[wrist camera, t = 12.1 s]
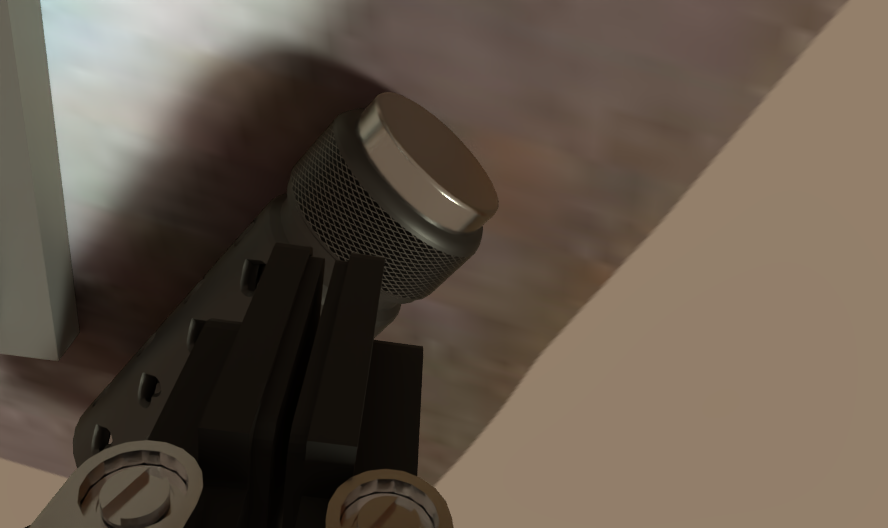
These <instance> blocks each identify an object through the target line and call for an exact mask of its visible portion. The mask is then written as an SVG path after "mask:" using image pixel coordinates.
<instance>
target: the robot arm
mask: <svg viewBox="0 0 888 528" xmlns="http://www.w3.org/2000/svg"><path fill="white" fill-rule="evenodd" d="M384 264H385V257H378V256H371V255H364V254H357V253H351V254H350V258H349V262H348V261H341V260H335V264H334V267H333V271H332V275H331V279H330V282H329V286H328V290H327V294H326V298H325V301H324V305H323V309H322V313H321V302H322V291H323V280H324V269H325V258H320V257H313V248H312V247H309V246H302V245H295V244H288V243H281V242H276V243H275V245H274V247H273V250H272V252H271V255H270V257H269V259H268V262H267V264H266V266H265V269H264V271H263V274H262V276H261V278H260V281H259V283H258V286H257V288H256V290H255V293H254V295H253V297H252V300H251V302H250V305H249V307H248V309H247V312H246V314H245V316H244V319H243V321H242V322H237V321H230V320H222V319H215V318H210V319H208V320H207V322H206V323H205V325H204V326H203V328H202V330H201V332H200V334H199V337H198V339H197V341H196V343H195V345H194V347H193V349H192V351H191V353H190V355H189V357H188V359H187V361H186V363H185V365H184V367H183V369H182V371H181V373H180V375H179V377H178V379H177V381H176V383H175V385H174V387H173V389H172V391H171V393H170V395H169V397H168V399H167V401H166V403H165V405H164V407H163V409H162V411H161V413H160V415H159V417H158V419H157V422H156V424H155V426H154V428H153V430H152V432H151V434H150V436H149V438H148V440H144V441H134V442H126V443H122V444H119V445H116V446H113V447H110V448H107V449H105V450H103V451H101V452H99V453H97V454H96V455H94V456H92V457H90V458H89V459H87V460H86V461H85V462H84V463H83V464H82V465H81V466H80V467H79V468H78V469H76V470H75V471H74V472H73V473H72V475H71V476H70V477H69V478H68V480H67V481H66V482H65V483H64V485H63V486H62V487H61V488H60V489H59V491H58V492H57V493H56V494H55V496H54V497H53V498H52V499H51V501H50V502H49V503H48V505H47V506H46V507H45V508H44V509H43V511H42V512H41V513H40V514H39V516H38V517H37V518H36V519H35V521H34V522H33V523H32V524H31V525H29V526H27V527H25V528H453V522H452V517H451V514H450V511H449V509H448V506H447V503H446V501H445V500H444V498H443V497H442V496H441V495H440V494H439V492H438V491H437V490H436V488H434V487H433V486H432V485H430V484H429V483H427V482H426V481H425V480H423V479H422V478H420V477H417V468H418V448H419V428H420V407H421V387H422V367H423V346H415V345H408V344H401V343H393V342H386V341H378V340H374V335H375V328H376V321H377V314H378V307H379V300H380V293H381V286H382V279H383V272H384ZM320 313H321V317H320Z"/></svg>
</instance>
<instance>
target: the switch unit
mask: <svg viewBox="0 0 888 528" xmlns="http://www.w3.org/2000/svg"><path fill="white" fill-rule="evenodd" d="M79 333H80V332H79V323H78V315H77V306H76V298H75V290H74V281H73V273H72V265H71V256H70V248H69V240H68V231H67V223H66V214H65V206H64V198H63V189H62V181H61V173H60V164H59V156H58V147H57V139H56V131H55V122H54V114H53V106H52V97H51V89H50V81H49V72H48V64H47V55H46V47H45V39H44V30H43V22H42V14H41V5H40V0H0V354H6V355H14V356H22V357H30V358H38V359H45V360H53V361H59V360H60V358H61V357H62V356H63V354H64V353H65V352H66V350H67V349H68V348H69V346H70V345H71V343H72V342H73V341H74V339H75V338H76V337H77V335H78V334H79Z"/></svg>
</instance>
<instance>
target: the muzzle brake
mask: <svg viewBox="0 0 888 528" xmlns="http://www.w3.org/2000/svg"><path fill="white" fill-rule="evenodd" d="M498 202H499V201H498V197H497V193H496V191H495V189H494V186H493V184H492V182H491V180H490V179H489V177H488V175H487V173H486V172H485V170H484V169H483V168H482V166H481V165H480V163H479V162H478V160H477V159H476V158H475V157H474V155H473V154H472V153H471V152H470V150H469V149H468V148H467V147H466V146H465V145H464V144H463V142H462V141H461V140H460V139H459V138H458V137H457V136H456V135H455V134H454V133H453V132H452V131H451V130H450V129H449V128H448V127H447V126H446V125H445V124H443V123H442V122H441V121H440V120H439V119H438V118H436V117H435V116H434V115H433V114H431V113H430V112H429V111H427V110H426V109H425V108H423V107H422V106H420V105H418V104H417V103H415V102H414V101H412V100H410V99H408V98H406V97H404V96H402V95H399V94H396V93H393V92H384V93H381V94H379V95H377V97H376V98H375V99H374V100H373V101H372V102H371V103H370V104H369V106H368V107H367V108H366V109H354V110H350V111H347V112H344V113H342V114H340V115H338V116H337V118H336V119H335V120H334V121H333V122H332V123H331V124H330V126H329V127H328V128H327V129H326V130H325V131H324V132H323V134H322V135H321V136H320V137H319V138H318V139H317V140H316V142H315V143H314V144H313V145H312V146H311V147H310V148H309V150H308V151H307V152H306V153H305V154H304V155H303V156H302V157H301V159H300V160H299V161H298V162H297V163H296V165H295V166H294V167H293V169H292V172H291V176H290V180H289V182H288V186H287V194H282V195H280V196H278V197H276V198H274V199H272V200H271V201H270V202H269V203H268V205H267V206H266V207H265V208H264V209H263V210H262V211H261V213H260V214H259V215H258V216H257V217H256V218H255V219H254V221H253V222H252V223H251V224H250V225H249V226H248V227H247V228H246V230H245V231H244V232H243V233H242V234H241V235H240V236H239V237H238V239H237V240H236V241H235V242H234V243H233V244H232V245H231V246H230V248H229V249H228V250H227V251H226V252H225V253H224V254H223V256H222V257H221V258H220V259H219V260H218V261H217V262H216V263H215V265H214V266H213V267H212V268H211V269H210V270H209V271H208V273H207V274H206V275H205V276H204V277H203V279H202V280H201V281H200V282H199V283H198V284H197V285H196V286H195V287H194V288H193V290H192V291H191V292H190V293H189V294H188V295H187V296H186V297H185V299H184V300H183V301H182V302H181V303H180V304H179V305H178V307H177V308H176V309H175V310H174V311H173V312H172V313H171V314H170V316H169V317H168V318H167V319H166V320H165V321H164V322H163V324H162V325H161V326H160V327H159V328H158V329H157V330H156V332H155V333H154V334H153V335H152V336H151V337H150V338H149V339H148V341H147V342H146V343H145V344H144V345H143V346H142V347H141V348H140V350H139V351H138V352H137V353H136V354H135V355H134V356H133V358H132V359H131V360H130V361H129V362H128V363H127V364H126V365H125V367H124V368H123V369H122V370H121V371H120V372H119V373H118V375H117V376H116V377H115V378H114V379H113V380H112V382H111V383H110V384H109V385H108V386H107V387H106V388H105V389H104V390H103V392H102V393H101V394H100V395H99V396H98V397H97V398H96V399H95V401H94V402H93V403H92V404H91V405H90V406H89V407H88V409H87V410H86V411H85V412H84V414H83V415H82V416H81V417H80V419H79V422H78V424H77V426H76V428H75V433H74V438H73V454H74V458H75V462H76V466H77V468H79V467H80V466H81V465H82V464H83V463H84V462H85V461H86V460H87V459H89V458H90V457H92V456H94V455H96V454H97V453H99V452H101V451H103V450H105V449H107V448H110V447H113V446H116V445H119V444H122V443H126V442H134V441H144V440H148V438H149V436H150V434H151V432H152V430H153V428H154V426H155V424H156V422H157V419H158V417H159V415H160V413H161V411H162V409H163V407H164V405H165V403H166V401H167V399H168V397H169V395H170V393H171V391H172V389H173V387H174V385H175V383H176V381H177V379H178V377H179V375H180V373H181V371H182V369H183V367H184V365H185V363H186V361H187V359H188V357H189V355H190V353H191V351H192V349H193V347H194V345H195V343H196V341H197V339H198V337H199V334H200V332H201V330H202V328H203V326H204V325H205V323H206V322H207V320H208V319H210V318H215V319H222V320H230V321H237V322H242V321H243V319H244V316H245V314H246V312H247V309H248V307H249V305H250V302H251V300H252V297H253V295H254V293H255V290H256V288H257V286H258V283H259V281H260V278H261V276H262V274H263V271H264V269H265V266H266V264H267V262H268V259H269V257H270V255H271V252H272V250H273V247H274V245H275V243H276V242H281V243H288V244H295V245H302V246H309V247H312V248H313V257H320V258H325V269H324V280H323V291H322V302H321V313H322V309H323V305H324V301H325V298H326V294H327V290H328V286H329V282H330V279H331V275H332V271H333V267H334V264H335V260H341V261H348V262H349V258H350V254H351V253H357V254H364V255H371V256H378V257H385V264H384V272H383V279H382V286H381V293H380V300H379V307H378V314H377V321H376V328H375V335H374V338H375V337H376V336H377V335H378V334H379V333H380V332H381V331H383V330H384V329H385V328H386V327H387V326H388V325H389V324H390V323H391V322H392V321H393V320H394V319H395V318H396V316H397V315H398V313H399V310H400V307H401V304H405V303H411V302H413V301H415V300H419V299H423V298H424V297H426V296H428V295H430V294H431V293H432V292H433V291H434V290H435V289H436V288H438V287H439V286H440V285H441V284H442V283H443V282H444V281H445V280H446V279H447V278H448V277H450V276H451V275H452V274H453V273H454V272H455V271H456V270H457V269H458V268H459V267H460V266H462V265H463V264H464V263H465V262H466V261H467V260H468V259H469V258H470V257H471V256H472V255H474V254H475V252H476V250H477V249H478V247H479V245H480V242H481V238H482V232H483V225H484V224H485V223H486V222H487V221H488V220H489V219H490V218H491V217H492V216H493V215H494V214H495V213H496V211H497V209H498ZM321 313H320V317H321ZM110 435H112V439H113V442H112V443H111V444H108V443H109V439H110Z"/></svg>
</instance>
